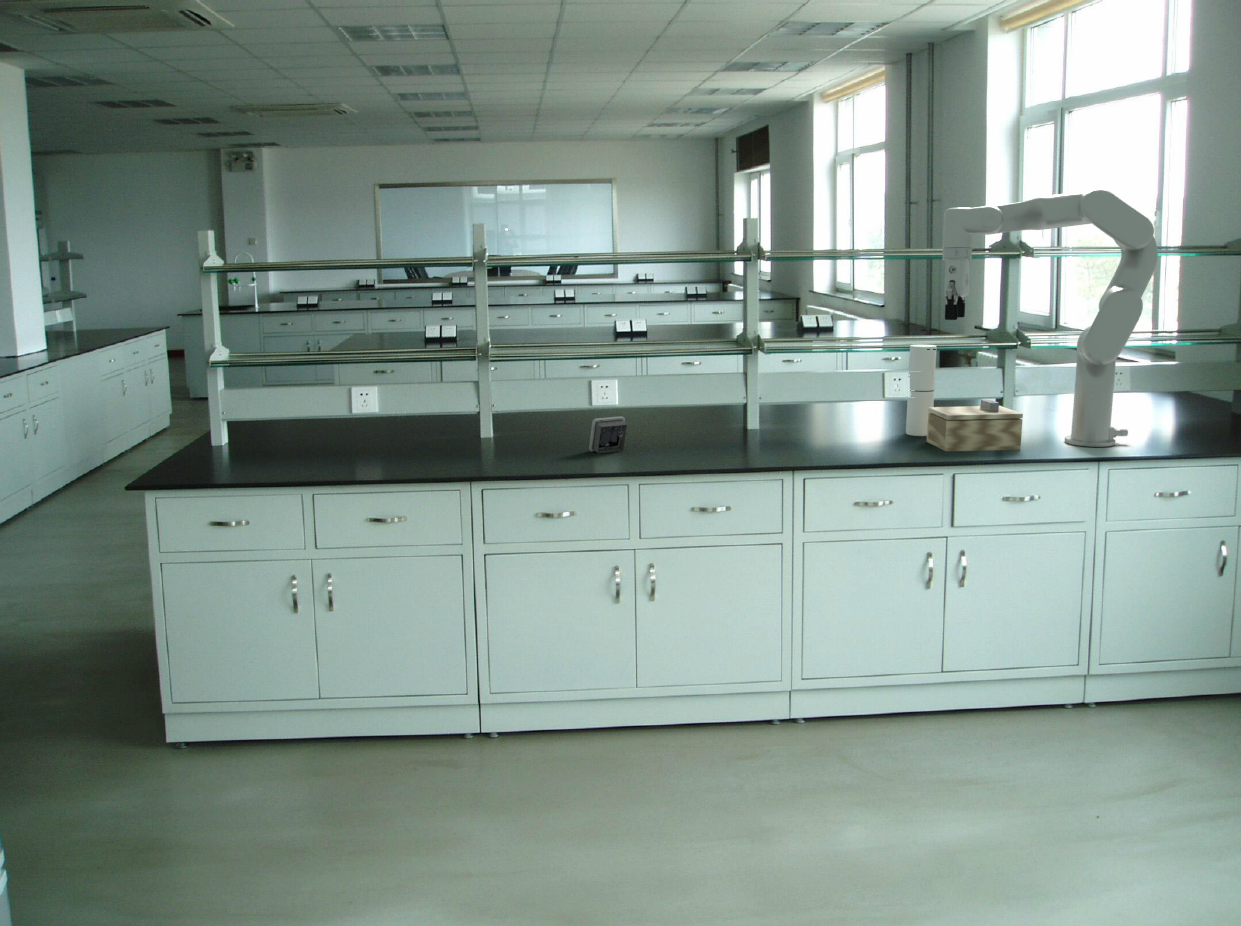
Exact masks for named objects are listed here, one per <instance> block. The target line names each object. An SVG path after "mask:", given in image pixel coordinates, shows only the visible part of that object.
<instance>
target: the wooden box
mask: <svg viewBox="0 0 1241 926" xmlns="http://www.w3.org/2000/svg"><path fill="white" fill-rule="evenodd" d="M1023 419H1024V418H1013V419H970V420H947V419H944V418H942V417H940V416H937V415H935V414H933V413H928V427H927V436H926V442H927V443H928V444H931V445H933V446H935V447H937V448H938V449H940V450H942V451H944V452H975V451H976V452H979V451H981V452H982V451H1013V450H1014V451H1015V450H1016V451H1017V450H1018V451H1019V450H1021V448H1022V447H1021V445H1022V433H1023Z"/></svg>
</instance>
